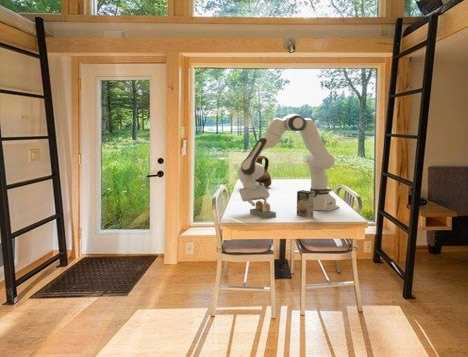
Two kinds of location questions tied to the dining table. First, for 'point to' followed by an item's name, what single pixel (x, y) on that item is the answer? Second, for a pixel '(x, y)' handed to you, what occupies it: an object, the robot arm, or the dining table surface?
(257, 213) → the egg carton
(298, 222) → the dining table surface
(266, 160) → the ceramic pitcher
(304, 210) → the coffee box
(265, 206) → the cream egg
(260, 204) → the brown rounded oval piece
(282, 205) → the dining table surface
